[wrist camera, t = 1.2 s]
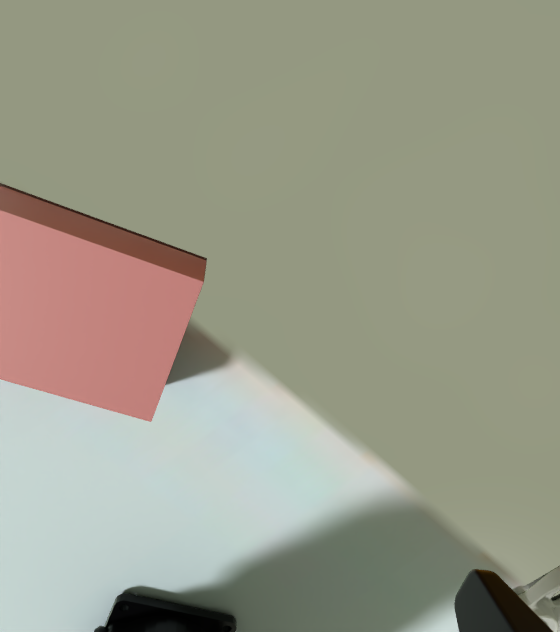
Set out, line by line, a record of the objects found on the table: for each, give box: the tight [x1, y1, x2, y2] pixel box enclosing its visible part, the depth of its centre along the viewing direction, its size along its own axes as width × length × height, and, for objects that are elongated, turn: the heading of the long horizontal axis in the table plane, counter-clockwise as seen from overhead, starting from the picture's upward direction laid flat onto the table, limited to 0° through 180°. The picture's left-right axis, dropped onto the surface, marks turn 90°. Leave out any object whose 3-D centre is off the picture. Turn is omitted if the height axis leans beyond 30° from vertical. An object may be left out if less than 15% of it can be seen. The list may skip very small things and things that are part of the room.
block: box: [0, 183, 207, 422], centre depth 19 cm, size 8×6×3 cm
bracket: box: [518, 566, 560, 632], centre depth 30 cm, size 8×2×15 cm
